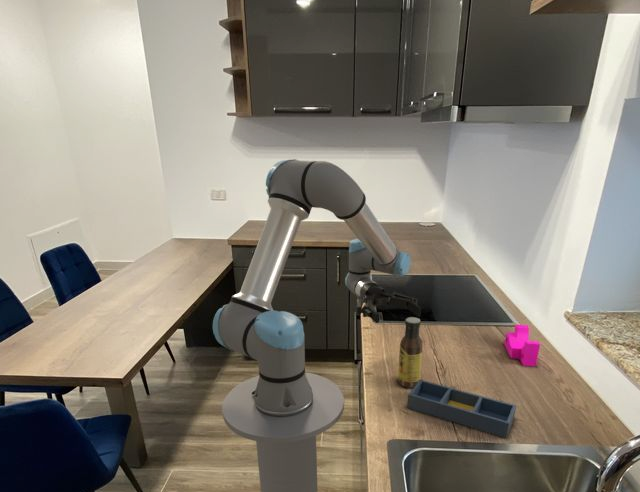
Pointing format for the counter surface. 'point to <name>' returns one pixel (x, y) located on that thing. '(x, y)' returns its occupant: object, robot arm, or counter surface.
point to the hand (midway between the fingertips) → (399, 315)
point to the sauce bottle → (410, 354)
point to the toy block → (522, 346)
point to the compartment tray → (462, 407)
